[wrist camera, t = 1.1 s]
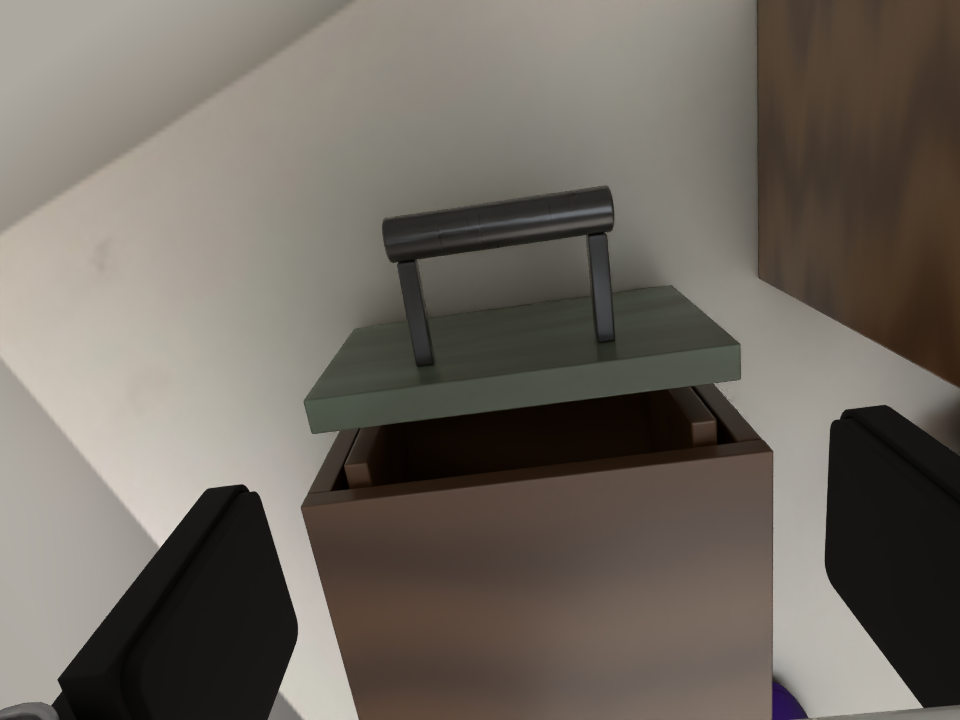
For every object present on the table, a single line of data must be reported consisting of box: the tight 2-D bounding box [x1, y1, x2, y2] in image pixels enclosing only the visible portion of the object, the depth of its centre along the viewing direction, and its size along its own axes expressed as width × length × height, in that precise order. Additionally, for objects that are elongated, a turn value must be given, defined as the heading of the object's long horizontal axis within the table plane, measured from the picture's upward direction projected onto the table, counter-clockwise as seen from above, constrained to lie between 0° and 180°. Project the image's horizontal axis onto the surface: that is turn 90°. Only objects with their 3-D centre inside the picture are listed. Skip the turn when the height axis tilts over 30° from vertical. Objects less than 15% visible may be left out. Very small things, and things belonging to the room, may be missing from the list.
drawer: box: [304, 185, 741, 489], centre depth 25 cm, size 19×13×8 cm
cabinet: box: [301, 383, 773, 720], centre depth 27 cm, size 16×15×10 cm
